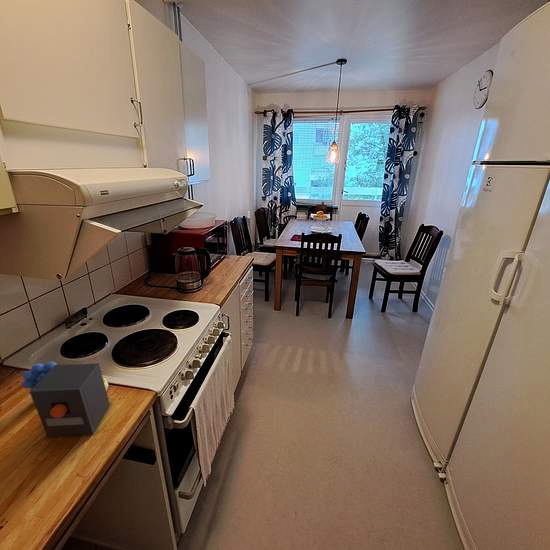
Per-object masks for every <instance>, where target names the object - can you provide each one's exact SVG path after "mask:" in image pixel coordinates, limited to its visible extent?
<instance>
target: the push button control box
mask: <svg viewBox="0 0 550 550" xmlns="http://www.w3.org/2000/svg"><path fill="white" fill-rule="evenodd" d="M103 378H104V376H103V373H102V370H101V366H100V363H77V364H76V363H72V364H57V365H55V366H54V367H53V368H52V369H51V370H50V371H49V372H48V373H47V374H46V375H45V376H44V377H43V378H42V379H41V380H40V381H39V382H38V383H37V385H36V386H35V387H34V388H33V389H32V390H31V389H30V390H29V394H30V397H31V399H32V402H33V404H34V407H35V409H36V411H37V414H38V417H39V419H40V422H41V424H42V427H43V429H44V432H45V434H46V437H47V438H50V437H51V438H53V437H54V438H55V437H69V436H87V435H88V436H89V435H94V434H95V432H96V431H97V428H98V427H99V425H100V423H101V422H102V420H103V419H104V416H105V415H106V413H107V411H108V409H109V408H110V405H111V404H110V399H109V396H108V392H107V391H106V388H105V384H104V381H103ZM57 404H62V405H64V406H66V408H67V411H66V413H65V414H64V415H63V417H61V418H55V417H53V416H51V414H50V411H51V410H52V408H53V407H54V406H55V405H57Z"/></svg>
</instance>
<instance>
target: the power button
mask: <svg viewBox="0 0 550 550" xmlns="http://www.w3.org/2000/svg"><path fill="white" fill-rule="evenodd" d="M66 411H67V408H66V406H64V405H62V404H57V405H55V406H54V407H53V408H52V410H51V411H50V414H51V416H53V417H55V418H61V417H63V415H64V414H65V413H66Z"/></svg>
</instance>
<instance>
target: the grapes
mask: <svg viewBox="0 0 550 550" xmlns="http://www.w3.org/2000/svg"><path fill="white" fill-rule="evenodd" d="M55 365H58V364H57V362H55V361H47V362H46V363H45V364H42V363H35V364H33V365H32V366H31V370H26V371H24V372H23V373H22V378H23V379H24V380H23V381H22V382H21V385H22V388H24V389H30V391H31V390H32V389H33V388H34V387H35V386H36V385H37V383H38V382H39V381H40V380H41V379H42V378H43V377H44V376H45V375H46V374H47V373H48V372H49V371H50V370H51V369H52V368H53V367H54V366H55Z"/></svg>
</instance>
